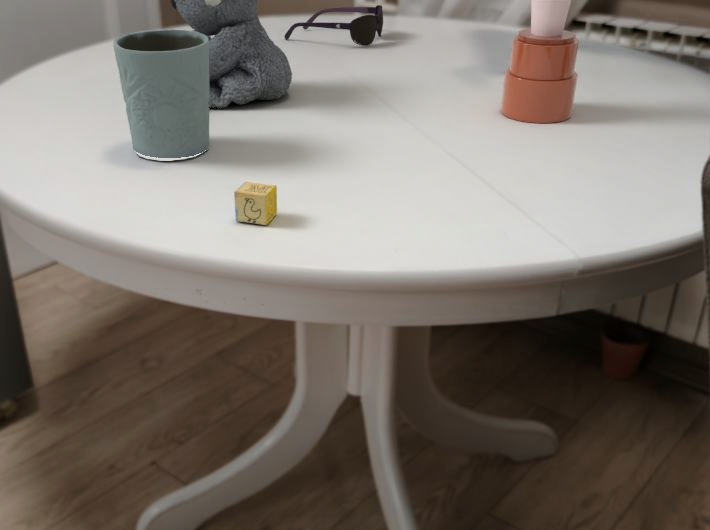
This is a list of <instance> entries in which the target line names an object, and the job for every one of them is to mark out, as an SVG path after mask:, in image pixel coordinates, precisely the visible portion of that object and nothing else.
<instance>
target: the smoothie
mask: <svg viewBox="0 0 710 530" xmlns="http://www.w3.org/2000/svg"><path fill="white" fill-rule="evenodd" d="M530 1H531V4H530V21H531V22H530V28H531V34H533V35H537V36H544V37H555V36H560V35H562V33H563V30H565V25H566V21H567V19H568V14H569V10H570V7H571V2H572V0H530Z"/></svg>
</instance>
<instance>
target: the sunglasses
mask: <svg viewBox="0 0 710 530" xmlns="http://www.w3.org/2000/svg"><path fill="white" fill-rule="evenodd" d="M335 12H336V13H338V12H339V13H359V14H360V13H361V14H364V15H360V16H358V17H356V18H354V19H352V20H351V21H350V22H315V20H316V19H317V18H318V17H319V16H321V15H323V14H326V13H335ZM299 27H302V29H303V30H308V29H309V28H323V29H331V30H346V31H349V35H350V38H351V40H352V42H353V43H355V44H356V45H358V46H361V47H363V46H364V47H366V46H370V45H371V44H372V43H373V42H374V40H375V38H376V34H377V36H378V37H379V38H381V37H382V32H383V27H384V14H383V6H382V5H381V4H380V5H378V4H377V5H376V6H346V7H331V8H330V7H329V8H324V9H321V10H319V11H317V12H315V13H314V14H313V15H312V16H311V17H309V18H308V20H307V21H305V22H295V23H294V24H292V25H291V26H290V28H288V30H287V31H286V32H285V34H284V39H285V40H286V41H288V40H289V39H290V37H291V35H292V34H293V32H294V30H295V29H296V28H299Z"/></svg>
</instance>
